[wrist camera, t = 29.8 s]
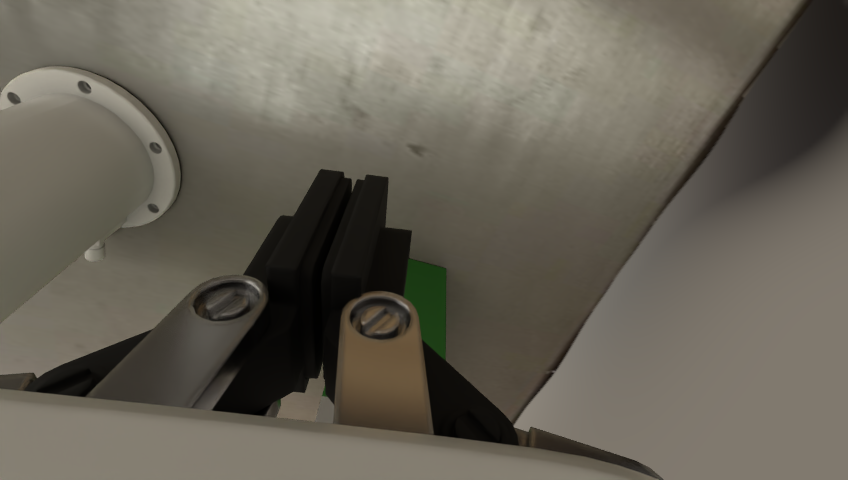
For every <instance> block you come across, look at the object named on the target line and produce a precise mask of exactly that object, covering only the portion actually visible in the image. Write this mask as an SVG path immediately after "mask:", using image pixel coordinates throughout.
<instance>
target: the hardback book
mask: <svg viewBox="0 0 848 480" xmlns="http://www.w3.org/2000/svg"><path fill="white" fill-rule="evenodd" d="M404 298H405V299H407V300H408V301H410V302H411V303H412V305H413V306H414V307H415V308H416V310H417V313H418V316H419V322H420V330H421V338H422V340H423V341H424V342H426V343H427V344H428V345H429V346H430V347H431V348H432V349H433V350H434V351H435V352H436V353H438V354H439V355H440V356H441V357H442V358H443V359H444V360H445V353H446V268H442V267H438V266H435V265H431V264H427V263H423V262H420V261H416V260H412V259H409V260H408V269H407V277H406V285H405V293H404ZM333 416H334V404H333V403H332V402H331V401H330V399H329V398H328V397H327V396H326V394H325V388H324V391H323V395H322V398H321V402H320V405H319V409H318V412H317V416H316V420H315V422H321V423H330V424H333Z"/></svg>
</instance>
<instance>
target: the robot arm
mask: <svg viewBox="0 0 848 480" xmlns="http://www.w3.org/2000/svg"><path fill="white" fill-rule="evenodd" d="M180 180H181V172H180V165H179V160H178V157H177V154H176V151H175V148H174V145H173V144H172V142H171V140H170V138H169V136H168V134H167V133H166V131H165V129H164V128H163V127H162V125H161V124H160V123H159V121H158V120H157V119H156V117H155V116H154V115H153V114H152V113H151V112H150V111H149V110H148V109H147V108H146V107H145V106H144V105H143V104H142V103H141V102H140V101H139V100H138V99H136V98H135V97H134V96H132V95H131V94H130V93H129V92H127V91H126V90H125V89H123V88H122V87H120V86H118V85H116V84H115V83H113V82H111V81H110V80H108V79H106V78H104V77H101V76H99V75H96V74H94V73H91V72H89V71H85V70H81V69H77V68H73V67H62V66H50V67H44V68H38V69H35V70H32V71H29V72H26V73H23V74H21V75H19V76H18V77H16V78H15V79H13V80H11V81H10V82H9V83H8V84H7V86H6V87H5V88H4V89H3V91H2V93H1V96H0V323H1V322H3V321H4V320H5V319H6V318H7V317H9V316H10V315H11V314H12V313H13V312H14V311H16V310H17V309H18V308H19V307H20V306H22V305H23V304H24V303H25V302H26V301H28V300H29V299H30V298H31V297H32V296H33V295H35V294H36V293H37V292H38V291H39V290H41V289H42V288H43V287H44V286H45V285H46V284H48V283H49V282H50V281H51V280H52V279H54V278H55V277H56V276H57V275H58V274H60V273H61V272H62V271H63V270H64V269H65V268H67V267H68V266H69V265H70V264H71V263H73V262H75V261H76V260H77V258H78V257H80V256H81V255H82V254H83V253H84V255H85V258H86V259H87V260H88V261H93V262H96V261H101V260H102V259H104V258H105V243H104V241H105V240H106V239H107V238H108V237H109V236H110V235H112V234H113V233H114V232H115V231H116V230H117V229H119V228H120V227H121V228H128V227H137V226H141V225H144V224H148V223H151V222H152V221H154V220H155V219H157V218H159V217H160V216H161V215H162V214H164V213H165V212H166V211H167V210H168V209H169V208H170V207H171V205H172V204H173V202H174V201H175V199H176V197H177V194H178V192H179V189H180ZM387 196H388V177H381V176H373V175H366V177H365V180H359V179H357V181H356V184H355V186H354V189H353V191H352V180H351V179H350V178H344V172H340V171H332V170H323V169H321V170H320V171H319V173H318V174H317V176H316V178H315V180H314V181H313V183H312V185H311V187H310V188H309V190H308V192H307V194H306V195H305V197H304V199H303V201H302V202H301V204H300V206H299V208H298V209H297V211H296V213H295V215H294V216H293V217H292V216H284V215H283V216H280V217H279V218H278V220H277V221H276V223H275V224H274V226H273V228H272V229H271V231H270V233H269V234H268V236H267V237H266V239H265V241H264V242H263V244H262V245H261V247H260V249H259V250H258V252H257V253H256V255H255V257H254V258H253V260H252V261H251V263H250V265H249V266H248V268H247V269H246V271H245V273H244V274H243V275H225V276H220V277H217V278H213V279H210V280H208V281H206V282H204V283H202V284H200V285H198V286H197V287H196V288H195V289H193V290H192V291H191V292H190V293H189V294H188V295H187V296H186V297H185V298H184V299H183V300H182V301H181V302H180V303H179V304H178V305H177V306H176V307H175V308H174V309H173V310H172V311H171V312H170V313H169V314H168V315H167V316H166V317H165V318H164V319H163V320H162V321H161V322H160V323H159V324H158V325H157V326H156V327H155V328H154V329H152V330H149V331H147V332H144V333H142V334H139V335H137V336H134V337H132V338H129V339H126V340H124V341H121V342H119V343H116V344H114V345H111V346H109V347H106V348H104V349H101V350H98V351H96V352H93V353H91V354H88V355H86V356H83V357H81V358H78V359H76V360H73V361H70V362H68V363H65V364H63V365H60V366H58V367H56V368H54V369H52V370H50V371H48V372H46V373H44V374H43V375H42V376H40V377H39V378H37V377H36V376H35V374H34V373H21V374H8V375H0V480H663V479H662V478H661V477H660V476H659V475H658V474H656V473H655V472H654V471H653V470H652V469H651V468H649V467H647V466H645V465H643V464H641V463H639V462H637V461H635V460H632V459H629V458H626V457H623V456H620V455H617V454H614V453H610V452H607V451H604V450H601V449H598V448H595V447H592V446H589V445H586V444H583V443H580V442H577V441H574V440H571V439H567V438H564V437H561V436H558V435H555V434H552V433H549V432H546V431H543V430H540V429H537V428H533V427H530V430H529V432H526V431H523V430H520V429H517V428H514V427H513V425H512V423H511V422H510V421H509V420H508V418H507V417H506V416H505V415H504V414H503V413H502V412H501V411H500V410H499V409H498V408H497V407H496V406H495V405H494V404H492V403H491V402H490V401H489V400H488V399H487V398H486V397H485V396H484V395H483V394H481V393H480V392H479V391H478V390H477V389H476V388H475V387H474V386H473V385H472V384H471V383H469V382H468V381H467V380H466V379H465V378H464V377H463V376H462V375H461V374H460V373H458V372H457V371H456V370H455V369H454V368H453V367H452V366H451V365H450V364H449V363H447V362H446V361H445V360H444V359H443V358H442V357H441V356H440V355H439V354H438V353H436V352H435V351H434V350H433V349H432V348H431V347H430V346H429V345H428V344H427V343H426V342H424V341H423V340H422V338H421V330H420V322H419V316H418V313H417V310H416V308H415V307H414V306H413V305H412V303H411V302H410V301H408V300H407V299H405V298H404V293H405V285H406V277H407V269H408V260H409V251H410V242H411V233H412V231H411V230H402V229H394V228H385V224H386V210H387ZM322 363H323V371H324V380H325V394H326V396H327V397H328V398H329V399H330V401H331V402H332V403H333V404H334V416H333V424H330V423H321V422H312V421H303V420H294V419H284V418H276V416H277V414H278V411H279V409H280V406H281V398H283V397H285V396H286V395H288V394H290V393H292V392H302V393H305V390H306V387H307V384H308V381H309V378H315V379H317V378H318V376H319V373H320V370H321V366H322Z"/></svg>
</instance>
